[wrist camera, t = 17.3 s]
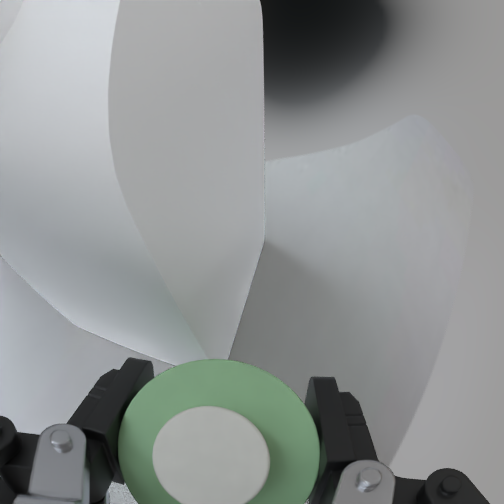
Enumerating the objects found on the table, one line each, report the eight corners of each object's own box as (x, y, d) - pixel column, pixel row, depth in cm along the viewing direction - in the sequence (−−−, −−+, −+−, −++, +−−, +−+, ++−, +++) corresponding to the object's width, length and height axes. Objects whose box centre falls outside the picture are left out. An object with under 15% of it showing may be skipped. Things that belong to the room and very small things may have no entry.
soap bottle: (177, 388, 14) (103, 339, 7) (285, 389, 14) (328, 343, 7) (175, 488, 11) (98, 542, 4) (287, 490, 11) (333, 556, 4)
